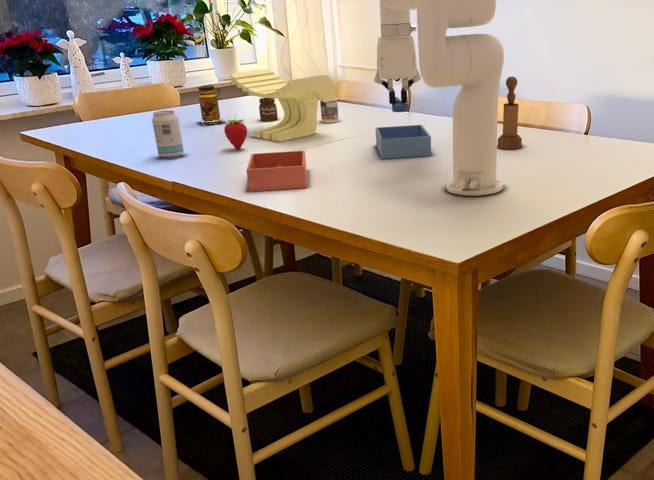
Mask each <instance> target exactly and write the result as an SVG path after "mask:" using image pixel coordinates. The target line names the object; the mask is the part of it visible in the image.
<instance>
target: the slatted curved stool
mask: <svg viewBox="0 0 654 480" xmlns="http://www.w3.org/2000/svg"><path fill="white" fill-rule="evenodd" d="M229 77H230V83H231V85H236V88H238V89H242V92H243V93H244V92H245V93H247V95H248V96H251V97H258V98H259V97H261V98H272V99H274V100H277V101H279V104H280V106H281V107H282V110H283V115H284V116H283V119H282V120H281V121H280V122H278V123H276V124H275V125H272V126H268V127H266V128H261V129H257V130H254V134H253V137H254V138H258V139H263V140H268V141H274V142H278V143H279V142H285V141H289V140H293V139H294V140H295V139H299V138H304V137H308V136H312V135H314V134H315V133H316V131H317V126H318V109H319V102H320V101H322V102H330V101H335V100H336V99H335V97H336V88H335V83H334V80H333V78H332V77H331V76H330V75H327V74H321V75H314V76H309V77H302V78H296V79H290V80H289V81H288V82H287V81H286V80H285V79H282V78H281V76H279V75H277V74H276V73H275V72H274V71H271V70H269V69H266V68H263V69H256V70H248V71H240V72H234V73H230V74H229Z"/></svg>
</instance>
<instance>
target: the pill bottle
mask: <svg viewBox="0 0 654 480" xmlns="http://www.w3.org/2000/svg"><path fill="white" fill-rule="evenodd" d="M335 99H336V100H335V101H330V102H322V101H319V103H320V106H319V107H320V117H321V122H322V123H324V124H325V123H327V124H330V123H331V124H332V123H337V122H338V121H339V105H338V98H337V97H336V96H335Z"/></svg>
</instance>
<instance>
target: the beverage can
mask: <svg viewBox="0 0 654 480" xmlns="http://www.w3.org/2000/svg"><path fill="white" fill-rule="evenodd" d="M152 114H153V115H152V118H151V123H152V127H153V133H154V139H155V143H156V149H157V155H158V156H160V157H162V158H163V159H164V160H165V159H166V160H168V159H169V160H170V159H178V158H180V157H181V156H182V155H183V154H184V153H185V150H184V144H183V139H182V134H181V129H180V121H179V117H178V115H177V114H176V112H175V110H159V111H154V112H152Z"/></svg>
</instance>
